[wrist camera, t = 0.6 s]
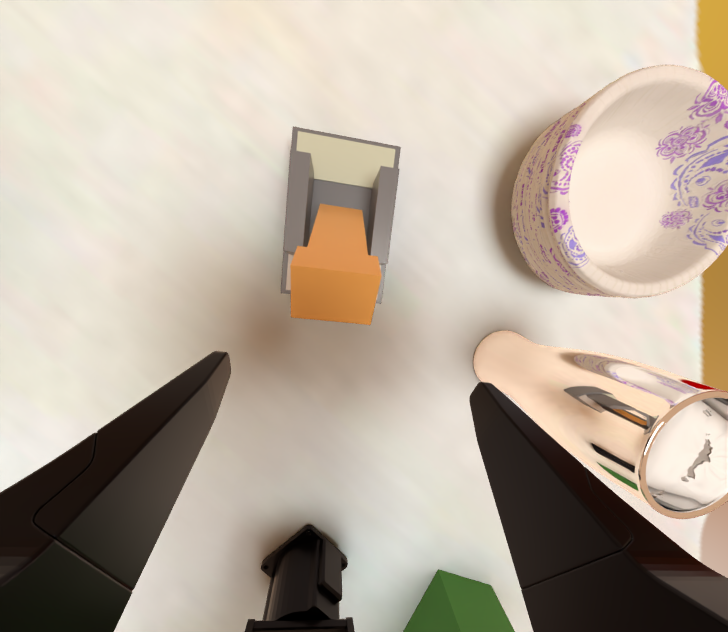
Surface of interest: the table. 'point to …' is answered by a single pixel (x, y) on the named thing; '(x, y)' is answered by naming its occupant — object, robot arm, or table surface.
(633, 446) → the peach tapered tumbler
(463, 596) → the hardback book
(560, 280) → the paper bowls
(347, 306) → the breaker lever
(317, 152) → the breaker block
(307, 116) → the table surface
